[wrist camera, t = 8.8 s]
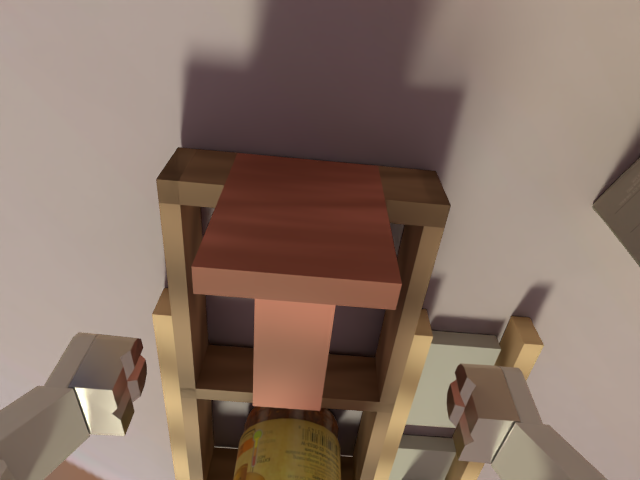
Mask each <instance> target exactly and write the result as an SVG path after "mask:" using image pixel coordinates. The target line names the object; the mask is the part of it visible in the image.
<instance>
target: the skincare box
mask: <svg viewBox="0 0 640 480" xmlns="http://www.w3.org/2000/svg"><path fill="white" fill-rule="evenodd" d="M592 207H593V209H594V210H595V211H596V212H597V213H598V215H599V216H600V217H601V218H602V219H603V221H604V222H605V223H606V224H607V226H608V227H609V228H610V229H611V231H612V232H613V233H614V235H615V236H616V237H617V238H618V240H619V241H620V242H621V244H622V245H623V246H624V247H625V249H626V250H627V251H628V252H629V254H630V255H631V256H632V257H633V259H634V260H635V261H636V263H637V264H638V265H639V267H640V158H639V159H638V160H637V161H636V162H635V163H634V164H633V165H632V166H631V167H630V168H629V169H628V170H627V171H626V172H624V173H623V174H622V175H621V176H620V177H619V178H618V179H617V180H616V181H615V182H614V183H613V184H612V185H611V186H610V187H609V188H608V189H607V190H606V191H605V193H604V194H602V195H601V196H600V197H599V199H598V200H597V201H596V202H595V203H594V204H593V206H592Z"/></svg>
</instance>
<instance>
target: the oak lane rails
mask: <svg viewBox="0 0 640 480" xmlns="http://www.w3.org/2000/svg"><path fill="white" fill-rule="evenodd" d="M152 317H153V324H154V331H155V338H156V345H157V352H158V359H159V366H160V373H161V380H162V387H163V394H164V401H165V408H166V415H167V422H168V429H169V436H170V443H171V450H172V457H173V464H174V471H175V478H176V480H190V476H189V467H188V458H187V449H186V440H185V431H184V422H183V413H182V404H181V396H180V387H179V378H178V369H177V360H176V351H175V342H174V333H173V324H172V315H171V306H170V297H169V288H164V289H163V292H162V294H161V296H160V298H159V300H158V303H157V305H156V307H155V309H154V311H153V314H152ZM432 339H433V334H432V330H431V326H430V322H429V318H428V314H427V310H426V309H421V313H420V317H419V320H418V324H417V327H416V331H415V334H414V338H413V341H412V345H411V349H410V352H409V356H408V359H407V363H406V366H405V370H404V373H403V377H402V380H401V384H400V388H399V391H398V395H397V398H396V402H395V405H394V409H393V412H392V416H391V420H390V423H389V427H388V430H387V434H386V437H385V441H384V444H383V448H382V452H381V455H380V459H379V462H378V466H377V469H376V473H375V476H374V480H388V479H389V476H390V473H391V470H392V467H393V463H394V460H395V457H396V454H397V451H398V447H399V444H400V441H401V438H402V435H403V431H404V428H405V425H406V422H407V419H408V415H409V412H410V409H411V406H412V403H413V399H414V396H415V393H416V390H417V387H418V383H419V380H420V377H421V374H422V371H423V368H424V364H425V361H426V358H427V355H428V352H429V348H430V345H431V342H432ZM499 345H500V348H501V351H500V353H499V355H498V358H497V360H496V362H495V365H494V366H502V367H514V368H519V369H520V370H521V371H522V373H523V375H524V378H525V380H527V378H528V376H529V374H530V372H531V370H532V368H533V366H534V364H535V362H536V360H537V358H538V356H539V354H540V352H541V350H542V348H543V346H544V345H543V343H542V341H541V339H540V337H539V335H538V333H537V331H536V329H535V327H534V325H533V323H532V321H531V319H530V318H528V317H516V316H511V318H510V321H509V323H508V325H507V328H506V330H505V332H504V335H503V337H502V339H501V342H500V344H499ZM484 464H485V463H479V462H469V461H459V460H458V458H457V454H456V455H455V457H454V459H453V462H452V464H451V466H450V468H449V471H448V473H447V475H446V478H445V480H477V478H478V476H479V474H480V472H481V470H482V468H483V466H484Z"/></svg>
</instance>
